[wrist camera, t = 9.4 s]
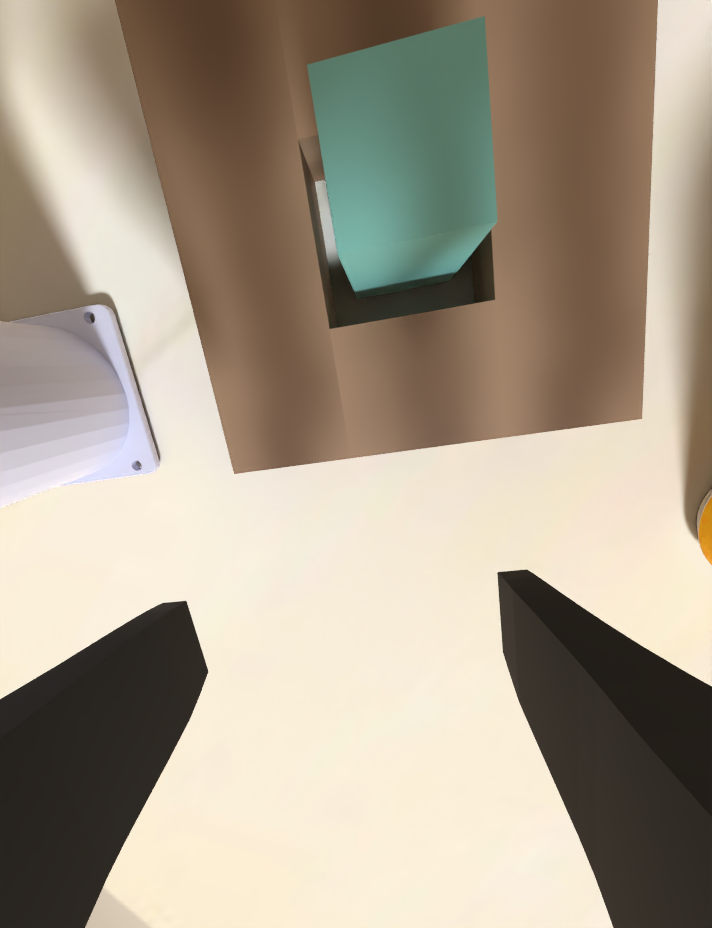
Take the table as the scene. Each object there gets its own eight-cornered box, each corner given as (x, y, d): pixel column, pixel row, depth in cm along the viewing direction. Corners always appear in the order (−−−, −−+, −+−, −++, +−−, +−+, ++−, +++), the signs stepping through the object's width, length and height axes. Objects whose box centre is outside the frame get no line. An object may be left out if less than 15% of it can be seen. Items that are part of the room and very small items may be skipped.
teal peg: (357, 298, 16) (337, 254, 10) (341, 195, 15) (306, 64, 9) (449, 280, 16) (497, 221, 9) (439, 172, 15) (485, 16, 8)
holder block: (257, 456, 19) (234, 473, 16) (166, 62, 14) (112, -12, 12) (597, 408, 17) (642, 418, 14) (601, -58, 13) (664, -181, 10)
